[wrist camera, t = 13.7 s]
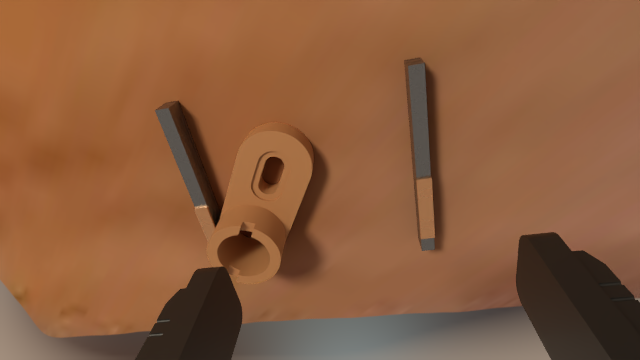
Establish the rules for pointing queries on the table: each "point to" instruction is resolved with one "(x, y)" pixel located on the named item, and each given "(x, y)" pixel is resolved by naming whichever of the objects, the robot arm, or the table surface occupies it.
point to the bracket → (261, 203)
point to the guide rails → (418, 123)
